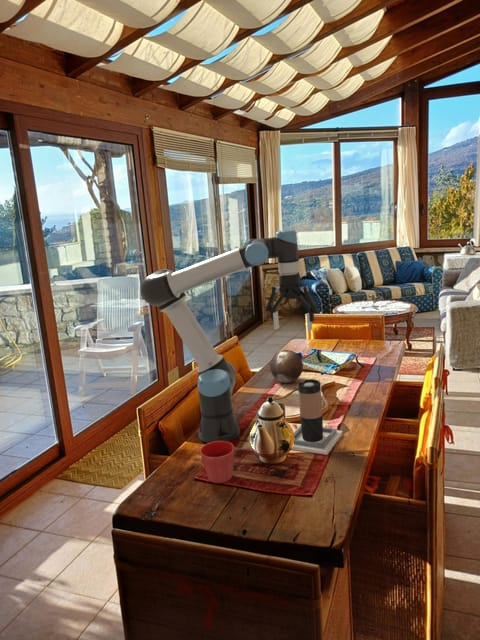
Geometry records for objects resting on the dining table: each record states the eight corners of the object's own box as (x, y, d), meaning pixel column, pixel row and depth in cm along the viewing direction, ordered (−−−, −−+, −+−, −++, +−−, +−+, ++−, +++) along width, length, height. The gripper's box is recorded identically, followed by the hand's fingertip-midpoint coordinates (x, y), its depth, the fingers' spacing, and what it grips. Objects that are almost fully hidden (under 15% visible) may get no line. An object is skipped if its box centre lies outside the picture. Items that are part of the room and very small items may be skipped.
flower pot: (207, 489, 155) (203, 460, 153) (200, 472, 166) (196, 444, 164) (241, 481, 158) (238, 452, 156) (232, 465, 168) (229, 437, 166)
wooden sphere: (268, 387, 234) (266, 356, 231) (274, 376, 248) (272, 346, 245) (301, 387, 231) (299, 355, 227) (305, 376, 245) (303, 345, 241)
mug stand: (282, 447, 177) (281, 441, 176) (300, 428, 190) (299, 422, 190) (327, 454, 169) (326, 448, 169) (342, 434, 183) (342, 427, 182)
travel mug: (323, 442, 175) (319, 386, 171) (300, 442, 177) (296, 387, 172) (324, 432, 182) (321, 379, 178) (302, 432, 184) (298, 379, 180)
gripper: (325, 271, 186) (328, 328, 190) (263, 272, 198) (267, 325, 203) (317, 274, 179) (321, 333, 184) (254, 275, 192) (259, 330, 196)
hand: (293, 329), depth 193 cm, fingers open, 13 cm apart
